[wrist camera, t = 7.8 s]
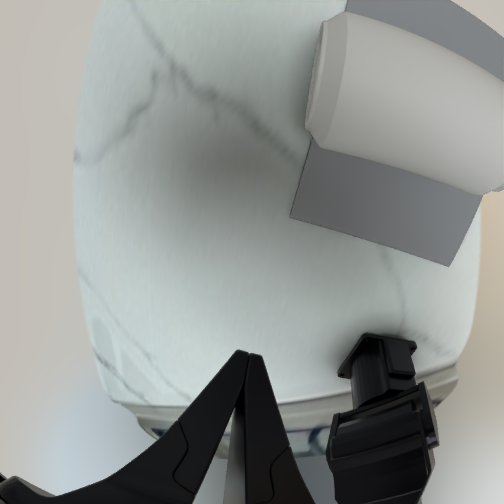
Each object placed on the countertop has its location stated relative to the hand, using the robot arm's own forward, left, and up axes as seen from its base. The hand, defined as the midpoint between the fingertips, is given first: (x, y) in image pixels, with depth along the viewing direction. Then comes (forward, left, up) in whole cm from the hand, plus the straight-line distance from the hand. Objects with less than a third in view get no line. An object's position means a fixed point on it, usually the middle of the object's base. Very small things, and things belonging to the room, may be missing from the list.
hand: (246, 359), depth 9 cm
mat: (+10, -8, -13) cm, 18 cm away
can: (+9, 0, -9) cm, 13 cm away
